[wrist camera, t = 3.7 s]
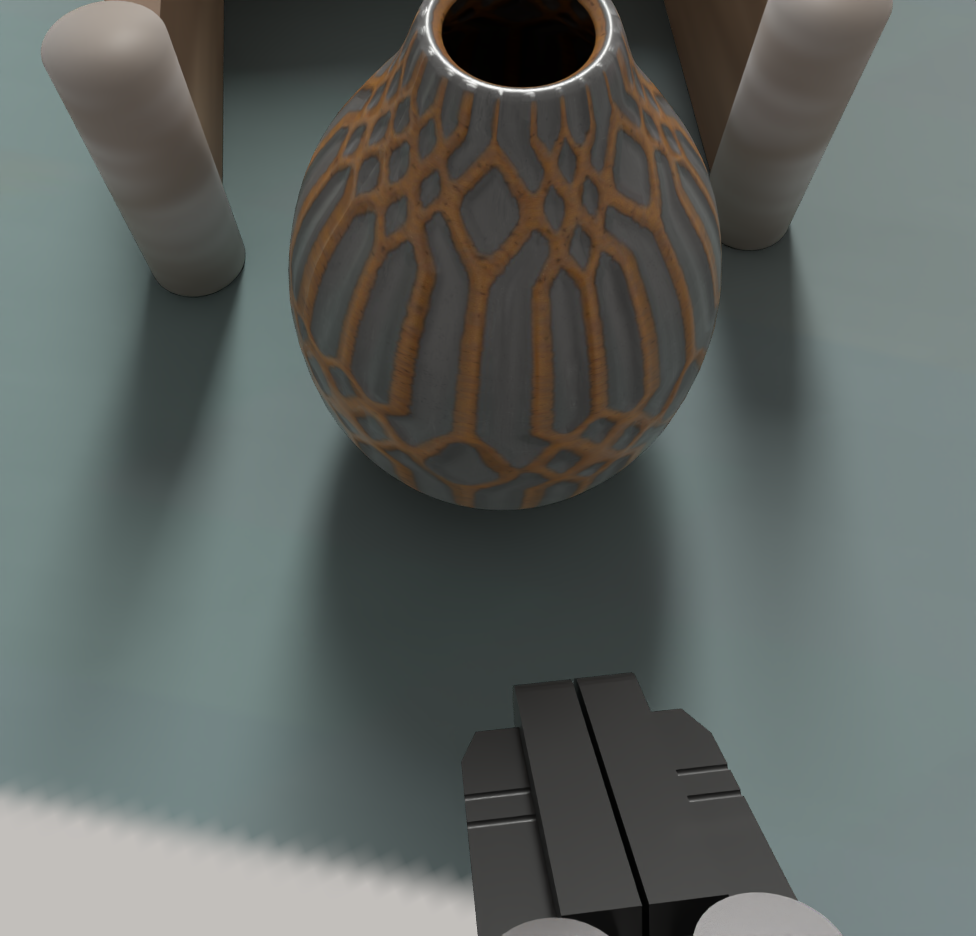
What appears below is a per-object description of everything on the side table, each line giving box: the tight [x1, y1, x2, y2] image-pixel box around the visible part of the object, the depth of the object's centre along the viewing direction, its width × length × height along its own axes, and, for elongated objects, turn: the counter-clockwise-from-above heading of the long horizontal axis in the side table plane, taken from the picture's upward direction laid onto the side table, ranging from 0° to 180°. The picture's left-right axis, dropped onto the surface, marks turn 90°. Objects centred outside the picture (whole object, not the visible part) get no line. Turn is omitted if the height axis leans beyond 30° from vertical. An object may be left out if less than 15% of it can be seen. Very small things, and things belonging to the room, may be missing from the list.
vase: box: [288, 0, 722, 510], centre depth 14 cm, size 7×7×9 cm
